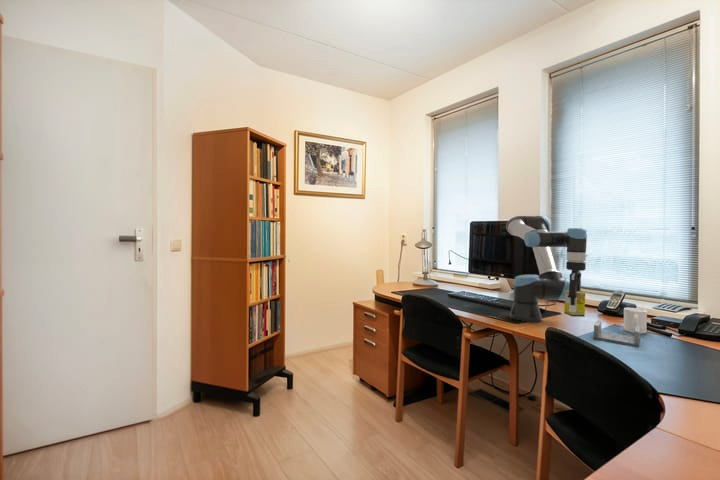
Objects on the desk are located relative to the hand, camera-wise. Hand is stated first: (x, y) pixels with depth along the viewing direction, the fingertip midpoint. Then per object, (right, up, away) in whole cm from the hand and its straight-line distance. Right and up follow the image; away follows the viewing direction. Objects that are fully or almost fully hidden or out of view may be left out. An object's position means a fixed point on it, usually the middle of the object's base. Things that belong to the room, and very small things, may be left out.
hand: (574, 310), depth 154 cm
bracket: (+12, -10, -11) cm, 19 cm away
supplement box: (0, -3, 0) cm, 3 cm away
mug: (+28, -11, 0) cm, 30 cm away
